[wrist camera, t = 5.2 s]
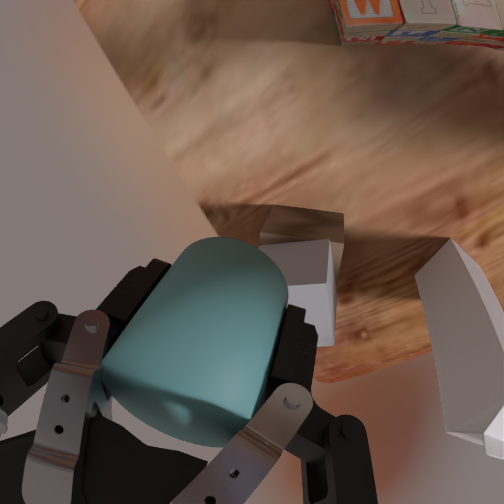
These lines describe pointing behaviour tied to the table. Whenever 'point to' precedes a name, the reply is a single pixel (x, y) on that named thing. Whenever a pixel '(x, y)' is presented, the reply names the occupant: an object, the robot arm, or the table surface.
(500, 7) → the stack of blocks
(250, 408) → the teal cylinder
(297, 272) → the grey block
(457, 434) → the milk
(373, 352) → the table surface
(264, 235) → the walnut block
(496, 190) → the table surface
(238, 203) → the table surface
